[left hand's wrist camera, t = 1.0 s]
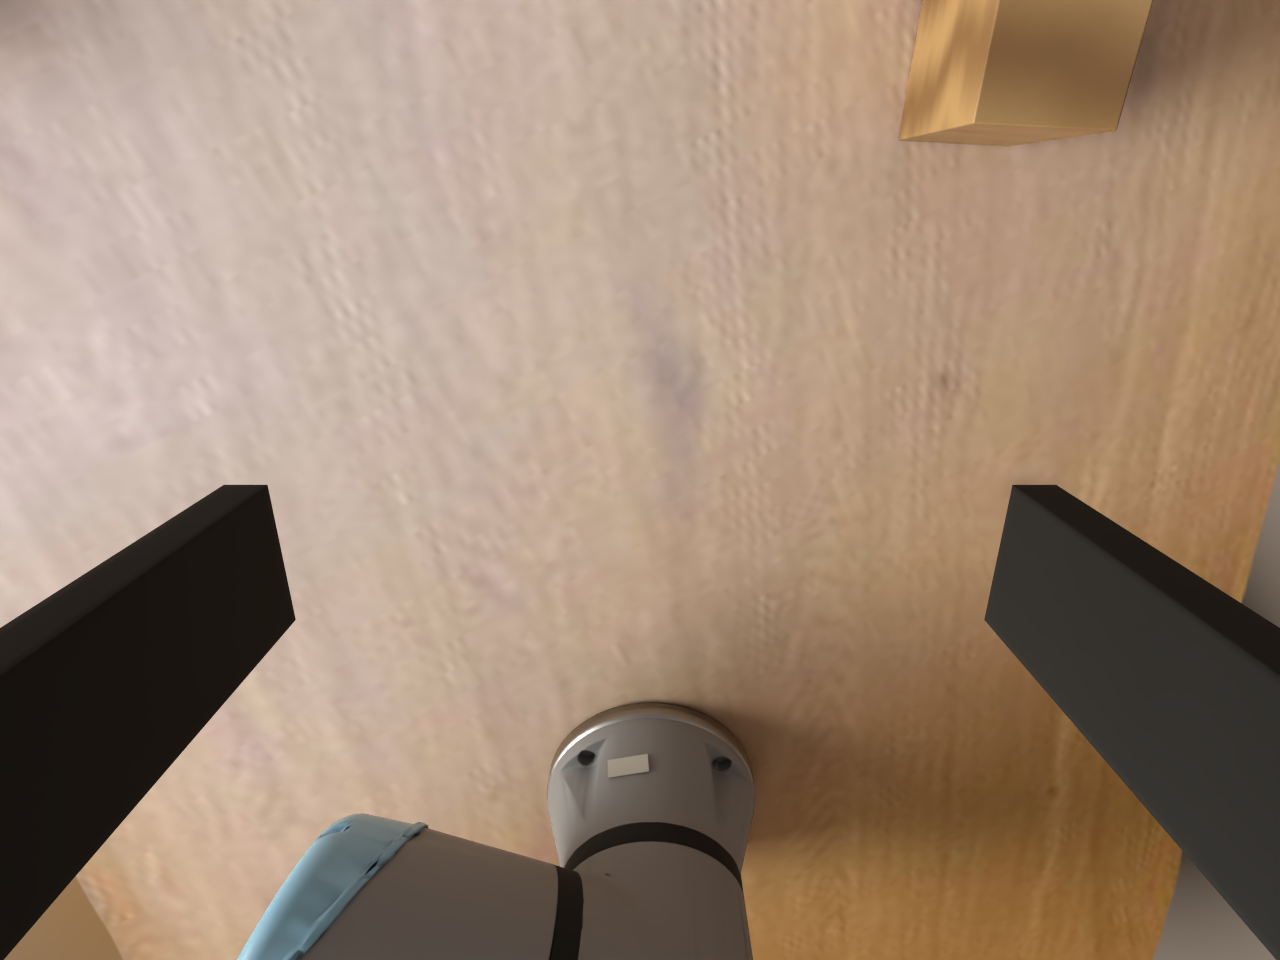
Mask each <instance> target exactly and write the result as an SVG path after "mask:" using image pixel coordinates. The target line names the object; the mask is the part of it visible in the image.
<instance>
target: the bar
mask: <svg viewBox="0 0 1280 960" xmlns="http://www.w3.org/2000/svg"><path fill="white" fill-rule="evenodd" d="M1152 2H1153V0H923V1H922V7H921V13H920V19H919V24H918V30H917V36H916V42H915V48H914V53H913V59H912V65H911V71H910V77H909V82H908V88H907V94H906V100H905V106H904V111H903V117H902V123H901V129H900V135H899V140H900V141H919V142H938V143H957V144H977V145H996V146H1013V145H1020V144H1027V143H1034V142H1041V141H1048V140H1056V139H1063V138H1070V137H1077V136H1084V135H1091V134H1098V133H1105V132H1112V131H1116V129H1117V127H1118V123H1119V119H1120V116H1121V112H1122V109H1123V105H1124V102H1125V98H1126V94H1127V91H1128V87H1129V84H1130V80H1131V77H1132V73H1133V69H1134V66H1135V62H1136V59H1137V55H1138V52H1139V48H1140V45H1141V41H1142V37H1143V34H1144V30H1145V27H1146V23H1147V20H1148V16H1149V12H1150V9H1151V5H1152Z"/></svg>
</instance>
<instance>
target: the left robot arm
mask: <svg viewBox="0 0 1280 960" xmlns="http://www.w3.org/2000/svg"><path fill="white" fill-rule="evenodd" d="M294 621H295V615H294V610H293V605H292V600H291V596H290V591H289V586H288V581H287V577H286V572H285V567H284V562H283V557H282V553H281V548H280V543H279V538H278V533H277V529H276V524H275V519H274V514H273V509H272V505H271V500H270V495H269V490H268V486H267V485H223V486H222V487H220V488H218V489H217V490H215V491H214V492H212V493H211V494H209V495H207V496H206V497H204V498H203V499H201V500H200V501H198V502H197V503H195V504H193V505H192V506H190V507H189V508H187V509H186V510H184V511H182V512H181V513H179V514H178V515H176V516H175V517H173V518H172V519H170V520H168V521H167V522H165V523H164V524H162V525H161V526H159V527H157V528H156V529H154V530H153V531H151V532H150V533H148V534H147V535H145V536H143V537H142V538H140V539H139V540H137V541H136V542H134V543H132V544H131V545H129V546H128V547H126V548H125V549H123V550H122V551H120V552H118V553H117V554H115V555H114V556H112V557H111V558H109V559H107V560H106V561H104V562H103V563H101V564H100V565H98V566H97V567H95V568H93V569H92V570H90V571H89V572H87V573H86V574H84V575H82V576H81V577H79V578H78V579H76V580H75V581H73V582H72V583H70V584H68V585H67V586H65V587H64V588H62V589H61V590H59V591H57V592H56V593H54V594H53V595H51V596H50V597H48V598H47V599H45V600H43V601H42V602H40V603H39V604H37V605H36V606H34V607H32V608H31V609H29V610H28V611H26V612H25V613H23V614H22V615H20V616H18V617H17V618H15V619H14V620H12V621H11V622H9V623H7V624H6V625H4V626H3V627H1V628H0V960H4V959H5V957H6V956H7V955H8V954H9V953H10V952H11V951H12V949H13V948H14V947H15V946H16V945H17V944H18V942H19V941H20V940H21V939H22V938H23V937H24V935H25V934H26V933H27V932H28V931H29V929H30V928H31V927H32V926H33V925H34V924H35V923H36V921H37V920H38V919H39V918H40V917H41V916H42V914H43V913H44V912H45V911H46V910H47V909H48V907H49V906H50V905H51V904H52V903H53V902H54V900H55V899H56V898H57V897H58V896H59V895H60V893H61V892H62V891H63V890H64V889H65V888H66V886H67V885H68V884H69V883H70V882H71V881H72V879H73V878H74V877H75V876H76V875H77V874H78V872H79V871H80V870H81V869H82V868H83V867H84V866H85V864H86V863H87V862H88V861H89V860H90V859H91V857H92V856H93V855H94V854H95V853H96V852H97V850H98V849H99V848H100V847H101V846H102V845H103V843H104V842H105V841H106V840H107V839H108V838H109V836H110V835H111V834H112V833H113V832H114V831H115V829H116V828H117V827H118V826H119V825H120V824H121V822H122V821H123V820H124V819H125V818H126V817H127V815H128V814H129V813H130V812H131V811H132V810H133V808H134V807H135V806H136V805H137V804H138V803H139V801H140V800H141V799H142V798H143V797H144V796H145V794H146V793H147V792H148V791H149V790H150V789H151V787H152V786H153V785H154V784H155V783H156V782H157V781H158V779H159V778H160V777H161V776H162V775H163V774H164V772H165V771H166V770H167V769H168V768H169V767H170V765H171V764H172V763H173V762H174V761H175V760H176V758H177V757H178V756H179V755H180V754H181V753H182V751H183V750H184V749H185V748H186V747H187V746H188V744H189V743H190V742H191V741H192V740H193V739H194V737H195V736H196V735H197V734H198V733H199V732H200V730H201V729H202V728H203V727H204V726H205V725H206V723H207V722H208V721H209V720H210V719H211V718H212V716H213V715H214V714H215V713H216V712H217V711H218V709H219V708H220V707H221V706H222V705H223V704H224V702H225V701H226V700H227V699H228V698H229V697H230V696H231V694H232V693H233V692H234V691H235V690H236V689H237V687H238V686H239V685H240V684H241V683H242V682H243V680H244V679H245V678H246V677H247V676H248V675H249V673H250V672H251V671H252V670H253V669H254V668H255V666H256V665H257V664H258V663H259V662H260V661H261V659H262V658H263V657H264V656H265V655H266V654H267V652H268V651H269V650H270V649H271V648H272V647H273V645H274V644H275V643H276V642H277V641H278V640H279V638H280V637H281V636H282V635H283V634H284V633H285V631H286V630H287V629H288V628H289V627H290V626H291V624H292V623H293V622H294ZM985 621H986V622H987V623H988V624H989V626H990V627H991V628H992V629H993V630H994V631H995V633H996V634H997V635H998V636H999V637H1000V638H1001V640H1002V641H1003V642H1004V643H1005V644H1006V645H1007V647H1008V648H1009V649H1010V650H1011V651H1012V652H1013V654H1014V655H1015V656H1016V657H1017V658H1018V659H1019V661H1020V662H1021V663H1022V664H1023V665H1024V666H1025V668H1026V669H1027V670H1028V671H1029V672H1030V673H1031V675H1032V676H1033V677H1034V678H1035V679H1036V680H1037V682H1038V683H1039V684H1040V685H1041V686H1042V687H1043V689H1044V690H1045V691H1046V692H1047V693H1048V694H1049V696H1050V697H1051V698H1052V699H1053V700H1054V701H1055V702H1056V704H1057V705H1058V706H1059V707H1060V708H1061V709H1062V711H1063V712H1064V713H1065V714H1066V715H1067V716H1068V718H1069V719H1070V720H1071V721H1072V722H1073V723H1074V725H1075V726H1076V727H1077V728H1078V729H1079V730H1080V732H1081V733H1082V734H1083V735H1084V736H1085V737H1086V739H1087V740H1088V741H1089V742H1090V743H1091V744H1092V746H1093V747H1094V748H1095V749H1096V750H1097V751H1098V753H1099V754H1100V755H1101V756H1102V757H1103V758H1104V760H1105V761H1106V762H1107V763H1108V764H1109V765H1110V767H1111V768H1112V769H1113V770H1114V771H1115V772H1116V774H1117V775H1118V776H1119V777H1120V778H1121V779H1122V781H1123V782H1124V783H1125V784H1126V785H1127V786H1128V787H1129V789H1130V790H1131V791H1132V792H1133V793H1134V794H1135V796H1136V797H1137V798H1138V799H1139V800H1140V801H1141V803H1142V804H1143V805H1144V806H1145V807H1146V808H1147V810H1148V811H1149V812H1150V813H1151V814H1152V815H1153V817H1154V818H1155V819H1156V820H1157V821H1158V822H1159V824H1160V825H1161V826H1162V827H1163V828H1164V829H1165V831H1166V832H1167V833H1168V834H1169V835H1170V836H1171V838H1172V839H1173V840H1174V841H1175V842H1176V843H1177V845H1178V846H1179V847H1180V848H1181V849H1182V850H1183V852H1184V853H1185V854H1186V855H1187V856H1188V857H1189V858H1190V860H1191V861H1192V862H1193V863H1194V864H1195V866H1196V867H1197V868H1198V869H1199V870H1200V871H1201V872H1202V874H1203V875H1204V876H1205V877H1206V878H1207V879H1208V881H1209V882H1210V883H1211V884H1212V885H1213V886H1214V888H1215V889H1216V890H1217V891H1218V892H1219V893H1220V895H1221V896H1222V897H1223V898H1224V899H1225V900H1226V902H1227V903H1228V904H1229V905H1230V906H1231V907H1232V909H1233V910H1234V911H1235V912H1236V913H1237V914H1238V915H1239V917H1240V918H1241V919H1242V920H1243V921H1244V923H1245V924H1246V925H1247V926H1248V927H1249V928H1250V930H1251V931H1252V932H1253V933H1254V934H1255V935H1256V937H1257V938H1258V939H1259V940H1260V941H1261V942H1262V943H1263V945H1264V946H1265V947H1266V948H1267V949H1268V950H1269V952H1270V953H1271V954H1272V955H1273V956H1274V957H1275V959H1276V960H1280V628H1279V627H1277V626H1276V625H1274V624H1272V623H1271V622H1269V621H1268V620H1266V619H1265V618H1263V617H1262V616H1260V615H1258V614H1257V613H1255V612H1254V611H1252V610H1251V609H1249V608H1248V607H1246V606H1244V605H1243V604H1241V603H1240V602H1238V601H1237V600H1235V599H1233V598H1232V597H1230V596H1229V595H1227V594H1226V593H1224V592H1223V591H1221V590H1219V589H1218V588H1216V587H1215V586H1213V585H1212V584H1210V583H1208V582H1207V581H1205V580H1204V579H1202V578H1201V577H1199V576H1198V575H1196V574H1194V573H1193V572H1191V571H1190V570H1188V569H1187V568H1185V567H1183V566H1182V565H1180V564H1179V563H1177V562H1176V561H1174V560H1173V559H1171V558H1169V557H1168V556H1166V555H1165V554H1163V553H1162V552H1160V551H1158V550H1157V549H1155V548H1154V547H1152V546H1151V545H1149V544H1148V543H1146V542H1144V541H1143V540H1141V539H1140V538H1138V537H1137V536H1135V535H1133V534H1132V533H1130V532H1129V531H1127V530H1126V529H1124V528H1123V527H1121V526H1119V525H1118V524H1116V523H1115V522H1113V521H1112V520H1110V519H1108V518H1107V517H1105V516H1104V515H1102V514H1101V513H1099V512H1098V511H1096V510H1094V509H1093V508H1091V507H1090V506H1088V505H1087V504H1085V503H1083V502H1082V501H1080V500H1079V499H1077V498H1076V497H1074V496H1073V495H1071V494H1069V493H1068V492H1066V491H1065V490H1063V489H1062V488H1060V487H1058V486H1057V485H1013V486H1012V490H1011V495H1010V500H1009V505H1008V509H1007V514H1006V519H1005V524H1004V529H1003V533H1002V538H1001V543H1000V548H999V553H998V557H997V562H996V567H995V572H994V577H993V581H992V586H991V591H990V596H989V600H988V605H987V610H986V615H985ZM547 800H548V811H549V816H550V821H551V826H552V830H553V835H554V839H555V844H556V848H557V853H558V857H559V862H560V866H561V867H559V866H556V865H553V864H550V863H546V862H543V861H539V860H536V859H532V858H529V857H525V856H522V855H518V854H515V853H511V852H508V851H504V850H501V849H497V848H494V847H490V846H487V845H483V844H480V843H476V842H473V841H469V840H466V839H462V838H459V837H455V836H452V835H449V834H445V833H442V832H438V831H435V830H431V829H428V825H427V824H425V823H421V822H418V823H416V824H409V823H405V822H400V821H396V820H391V819H387V818H382V817H378V816H373V815H368V814H354V815H350V816H347V817H345V818H342V819H340V820H338V821H337V822H335V823H333V824H332V825H331V826H330V827H328V828H327V829H326V830H325V831H324V832H323V833H322V834H321V835H320V836H319V837H318V838H317V839H316V840H315V842H314V843H313V844H312V845H311V846H310V848H309V849H308V850H307V851H306V853H305V854H304V855H303V857H302V858H301V859H300V861H299V862H298V863H297V865H296V866H295V867H294V869H293V870H292V872H291V873H290V875H289V876H288V878H287V879H286V881H285V882H284V884H283V885H282V887H281V888H280V890H279V891H278V893H277V894H276V896H275V897H274V899H273V900H272V902H271V904H270V905H269V907H268V908H267V910H266V912H265V913H264V915H263V916H262V918H261V920H260V921H259V923H258V924H257V926H256V928H255V930H254V931H253V933H252V935H251V936H250V938H249V940H248V941H247V943H246V945H245V947H244V948H243V950H242V952H241V954H240V955H239V957H238V959H237V960H753V956H752V949H751V942H750V935H749V928H748V922H747V915H746V908H745V901H744V895H743V888H742V880H741V870H742V865H743V860H744V855H745V851H746V846H747V841H748V836H749V832H750V827H751V822H752V818H753V813H754V801H755V789H754V783H753V778H752V772H751V766H750V763H749V760H748V757H747V755H746V753H745V751H744V749H743V747H742V746H741V744H740V743H739V742H738V740H737V739H736V738H735V737H734V736H733V735H732V734H731V733H730V732H729V731H728V730H727V729H726V728H725V727H724V726H722V725H721V724H719V723H718V722H716V721H715V720H713V719H712V718H710V717H708V716H706V715H704V714H702V713H699V712H697V711H694V710H691V709H688V708H685V707H681V706H676V705H670V704H662V703H639V704H631V705H624V706H620V707H616V708H613V709H610V710H607V711H604V712H602V713H599V714H597V715H595V716H593V717H591V718H589V719H588V720H586V721H585V722H583V723H582V724H580V725H579V726H578V727H576V728H575V729H574V730H573V731H572V732H571V733H570V734H569V735H568V736H567V737H566V738H565V739H564V741H563V742H562V743H561V745H560V746H559V748H558V750H557V752H556V754H555V756H554V759H553V762H552V765H551V770H550V776H549V782H548V788H547Z"/></svg>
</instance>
